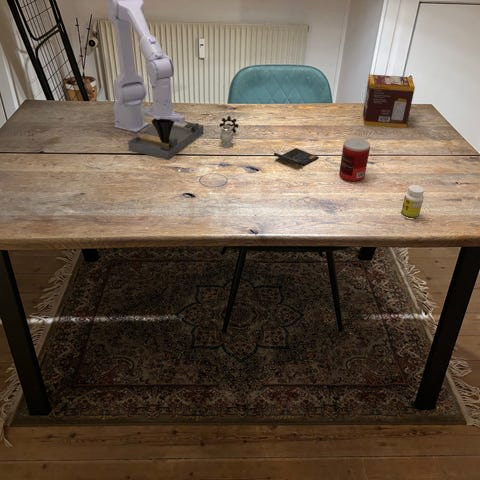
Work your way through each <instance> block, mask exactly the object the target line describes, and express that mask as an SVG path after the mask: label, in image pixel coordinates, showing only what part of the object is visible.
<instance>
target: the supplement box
mask: <svg viewBox="0 0 480 480" xmlns="http://www.w3.org/2000/svg"><path fill="white" fill-rule="evenodd" d="M367 79H368V81H367V86H366V91H365V97H364V99H365V100H364V105H363V110H362V119H363V125H364V126H369V125H371V127H382V126H385V127H386V128H395V127H396V129H397V128H398V129H407V126H408V121H409V116H410V111H411V107H412V102H413V98H414V93H415V88H416V87H415V84H414V82H413V78H412V77H410V76H400V75H399V76H397V75H384V74H383V75H382V74H380V75H379V74H371V73H370V74H368V78H367Z"/></svg>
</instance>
